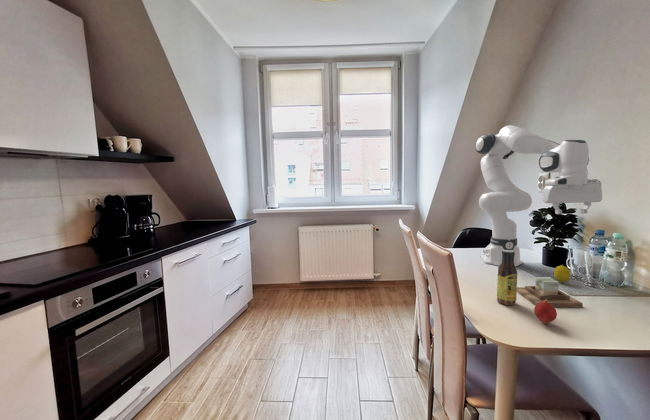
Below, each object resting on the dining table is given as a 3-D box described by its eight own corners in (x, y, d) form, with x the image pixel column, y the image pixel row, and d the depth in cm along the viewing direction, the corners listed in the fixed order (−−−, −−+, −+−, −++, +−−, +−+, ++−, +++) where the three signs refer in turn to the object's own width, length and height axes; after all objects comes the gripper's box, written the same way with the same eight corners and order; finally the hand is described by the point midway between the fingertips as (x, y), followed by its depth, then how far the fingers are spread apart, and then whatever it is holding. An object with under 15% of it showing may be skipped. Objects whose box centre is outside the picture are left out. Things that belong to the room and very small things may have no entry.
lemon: (572, 285, 122) (573, 267, 121) (557, 285, 123) (558, 266, 122) (564, 281, 127) (565, 263, 127) (550, 280, 129) (551, 263, 128)
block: (535, 292, 113) (535, 277, 113) (549, 292, 113) (549, 277, 112) (543, 297, 108) (543, 281, 108) (557, 297, 108) (558, 281, 107)
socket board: (514, 290, 119) (515, 283, 119) (554, 291, 117) (554, 284, 117) (536, 306, 104) (536, 298, 104) (582, 307, 102) (582, 299, 102)
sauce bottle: (509, 307, 104) (511, 254, 102) (493, 301, 110) (493, 250, 108) (520, 303, 107) (521, 251, 105) (503, 297, 113) (504, 248, 111)
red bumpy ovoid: (529, 319, 95) (529, 296, 94) (545, 318, 96) (546, 295, 95) (543, 328, 89) (544, 304, 89) (561, 327, 90) (562, 302, 89)
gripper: (595, 178, 119) (593, 212, 120) (541, 180, 121) (539, 213, 123) (608, 178, 112) (605, 214, 114) (550, 180, 115) (549, 215, 116)
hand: (571, 213), depth 118 cm, fingers open, 8 cm apart
